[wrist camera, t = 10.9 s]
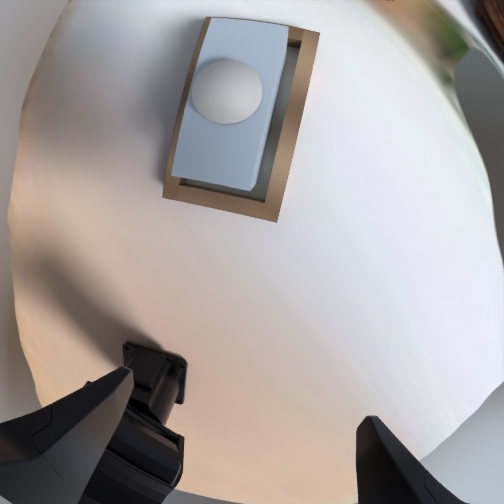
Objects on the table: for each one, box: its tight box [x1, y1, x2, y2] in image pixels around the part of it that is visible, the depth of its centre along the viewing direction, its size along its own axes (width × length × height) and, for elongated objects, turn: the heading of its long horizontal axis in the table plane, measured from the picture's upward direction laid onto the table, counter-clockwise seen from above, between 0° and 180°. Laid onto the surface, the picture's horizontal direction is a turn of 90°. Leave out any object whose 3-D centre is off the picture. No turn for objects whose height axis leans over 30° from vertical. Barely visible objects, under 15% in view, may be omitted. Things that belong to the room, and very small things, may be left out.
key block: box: [171, 18, 289, 191], centre depth 13 cm, size 4×9×6 cm, turn 168°
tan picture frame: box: [162, 17, 320, 223], centre depth 16 cm, size 13×8×2 cm, turn 168°
